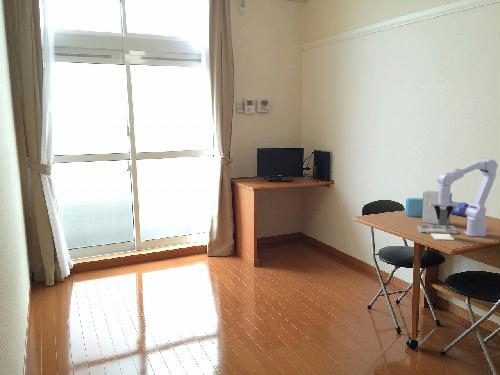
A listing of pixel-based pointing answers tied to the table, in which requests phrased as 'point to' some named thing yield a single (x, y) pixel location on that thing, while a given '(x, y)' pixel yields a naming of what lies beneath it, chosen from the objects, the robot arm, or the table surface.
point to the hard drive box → (429, 212)
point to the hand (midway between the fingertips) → (442, 219)
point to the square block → (442, 217)
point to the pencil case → (460, 209)
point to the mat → (442, 236)
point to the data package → (414, 207)
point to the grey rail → (437, 229)
